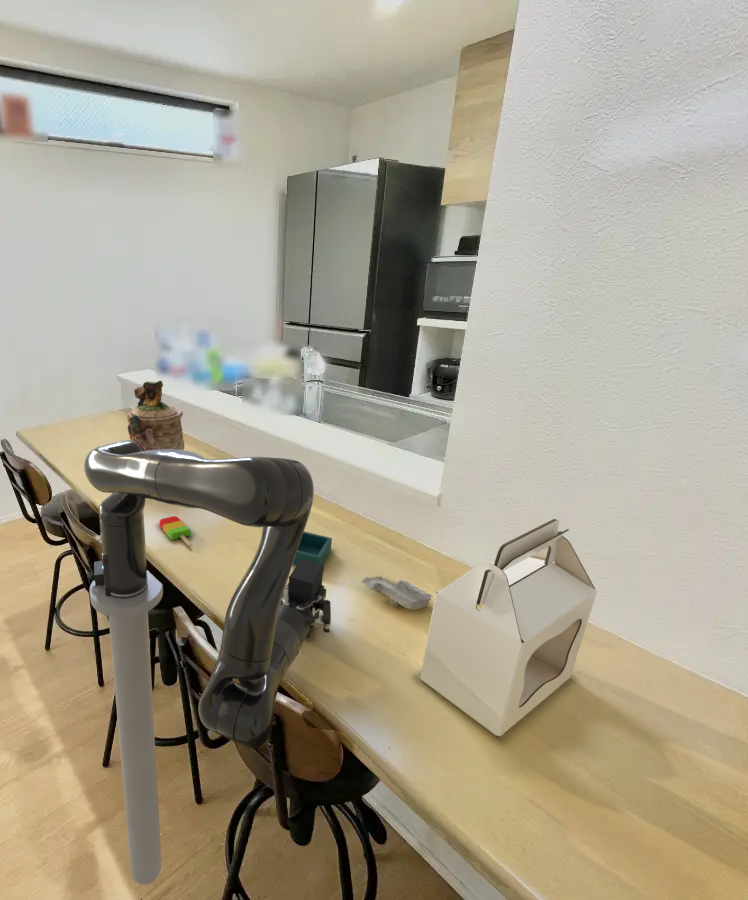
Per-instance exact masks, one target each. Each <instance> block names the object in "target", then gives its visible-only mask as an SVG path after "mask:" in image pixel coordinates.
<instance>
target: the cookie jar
mask: <svg viewBox="0 0 748 900" xmlns="http://www.w3.org/2000/svg"><path fill="white" fill-rule="evenodd" d="M163 387H164V383H163V381H162V380H157V381H145V382H143V384H142V385H141V386H137V387H135V388H134V390H133V393H134V396H135V398H136V399H138V400H139V401H138V402H137V406H136V407H134V408H133V409H132V411H128V413H127V416H126V418H127V422H128V425H127V432H128V435H129V440H132V441H134V442H136V443H137V444H138V445H139V447H140V448H141V450H142V451H147V450H155V449H179V450H185V441H184V435H183V433H184V432H183V427H182V416H183V415H184V412H183V410H182V409H181V408H179V407H176V406H171V405H168V404H167V403H165V402H162V396H163Z"/></svg>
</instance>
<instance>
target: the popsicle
mask: <svg viewBox="0 0 748 900" xmlns="http://www.w3.org/2000/svg"><path fill="white" fill-rule="evenodd" d="M159 528H161V529H162V530H163V532H164V533H165V534H166V536H168V538H169V539H170V540H172V541H173V540H177V539H181V540H182V541H183V542H184V543H185V544H186V546H188V547H192V546H193V544H192V543H191V542H190V540H189V539H188V538H187V537H189V536H191V535H192V532H191V531H192V530H191V529H190V528H189V527H188V526H187V525H186V524H185V523H184V522H183V521H182V520H181V518H179V517H178V516H177V515H176V516H175V515H173V516H168V517H164V518H161V519H160V520H159Z"/></svg>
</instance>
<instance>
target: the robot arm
mask: <svg viewBox="0 0 748 900" xmlns="http://www.w3.org/2000/svg"><path fill="white" fill-rule="evenodd" d="M83 463H84V464H83V469H84V474H85V476H86V479H87V480H88V482H89V483H90V484H91V486H92V487H93V488H94V489H96V490H97V491H99V492H101V493H108V494H109V495H108V496H107V497H106V498H105V499H103V500H102V501H101V502H100V504H99V506H98V519H99V531H100V543H101V560H97V561H94V563H93V569H94V570H93V572H92V573H91V574H90V575H89V579H90V580H91V581H92V582H93V581H95V586H102V585H105V595H106V597H107V596H112V597H115V598H123V599H124V598H132V597H135V596H137V595H139V594H141V593H143V592H144V591H145V590H146V588H147V586H148V579H147V570H148V569H147V551H146V533H145V532H146V531H145V513H144V511H145V510H144V509H145V507H146V503H147V502H146V501H147V500H150V501H151V500H152V501H155V502H158V503H161V504H166V505H170V506H173V507H180V508H186V509H198V510H199V509H200V510H204V511H207V512H210V513H212V514H215V515H216V516H220V517H222V518H224V519H227V520H229V521H231V522H234V523H236V524H239V525H241V526H246V527H251V528H262V531H261V536H260V540H259V544H258V547H257V550H256V552H255V554H254V556H253V559H252V560H251V563H250V564H249V566H248V568H247V570H246V571H245V573H244V575H243V576H242V578H241V580H240V582H239V584H238V585H237V587H236V588H235V591H234V593H233V594H232V596H231V599H230V601H229V603H228V605H227V609H226V613H225V617H224V622H223V629H222V635H221V636H222V637H221V642H220V649H219V653H218V656H217V658H216V662H215V665H214V668H213V670H212V672H211V675H210V677H209V678H208V681H207V683H206V685H205V687H204V689H203V691H202V693H201V695H200V698H199V701H198V708H197V709H198V710H197V711H198V717H199V719H200V722H201V723H202V725H203V727H205V728H206V729H207V730H209V731H212V732H213V733H215V734H217V735H220V736H221V737H223V738H225V739H228V740H229V741H231V742H234V743H236V744H238V745H240V746H242V747H244V748H246V749H251V750H252V749H254V750H255V749H258V748H260V747H261V746H263V745H264V744H265V743H267V741H268V740H269V738H270V736H271V734H272V730H273V725H274V719H275V708H276V707H275V706H276V700H277V696H278V692H279V689H280V686H281V683H282V682H283V680H284V677H285V676H286V673H287V672H288V670H289V668H290V667H291V666H292V664H293V663H294V662H295V660H296V658H297V656H298V655H299V653H300V650H301V648H302V646H303V644H304V642H305V641H306V638H307V637H306V636H307V634H308V632H309V631H310V630H311V629H312V630H313V629H314V628H321V629H322V631H323V633H327V634H328V633H330V630H331V623H332V611H331V609H332V608H331V607H332V606H331V605H332V604H331V601H330V600H329V599H326V598H327V588H325V585H323V584H322V585H320V587H319V589H318V591H317V593H316V595H315V596H314V598H313V599H307V600H306V601H305V602H298V601H296V600H294V599H291V598H290V592H288V586H289V582H288V581H289V576H290V575H291V571H292V568H293V565H294V564H293V562H294V559H295V556H296V553H297V550H298V547H299V544H300V541H301V538H302V535H303V532H305V529H306V525H307V524H308V520H309V518H310V514H311V510H312V508H313V502H314V498H315V497H314V495H315V486H314V480H313V477H312V474H311V472H310V470H309V469H308V468H307V467H306V465H304V464H303V463H301V462H300V461H299V460H296V459H292V458H283V457H271V456H270V457H269V456H246V457H245V456H244V457H234V458H215V459H213V458H212V459H211V458H205V457H204V456H202V455H201V454H199V453H197V452H195V451H190V450H186V449H184V450H179V449H155V450H147V451H142V450H141V448H140V447H139V445H138V444H137V443H136V442H134V441H132V440H130V439H125V440H121V441H116V442H112V443H108V444H103V445H100V446H97V447H95V448H93V449H91V450H89V452H88V453H87V454H86V456H85V459H84V462H83ZM319 610H320V611H321V612H322V613H321V614H320V615H319V617H318V619H315V618H314V615H315V613H316V612H317V611H319ZM320 611H319V612H320ZM234 679H236V680H237V681H238V682H236V681H235V680H234Z"/></svg>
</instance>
